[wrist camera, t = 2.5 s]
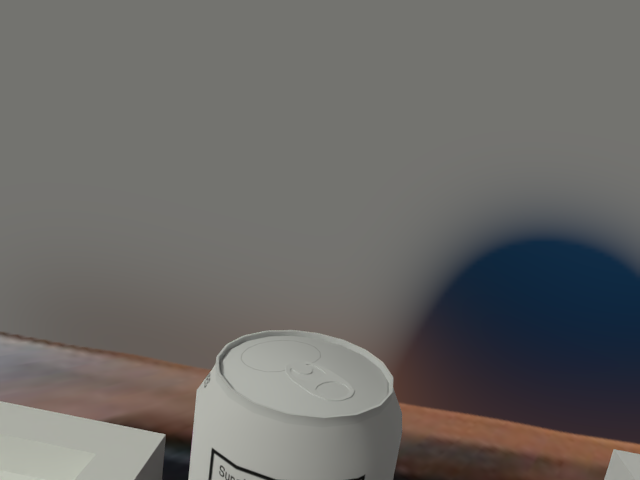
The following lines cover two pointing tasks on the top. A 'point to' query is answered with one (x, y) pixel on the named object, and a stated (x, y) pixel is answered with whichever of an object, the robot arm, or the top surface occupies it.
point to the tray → (74, 448)
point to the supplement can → (295, 412)
